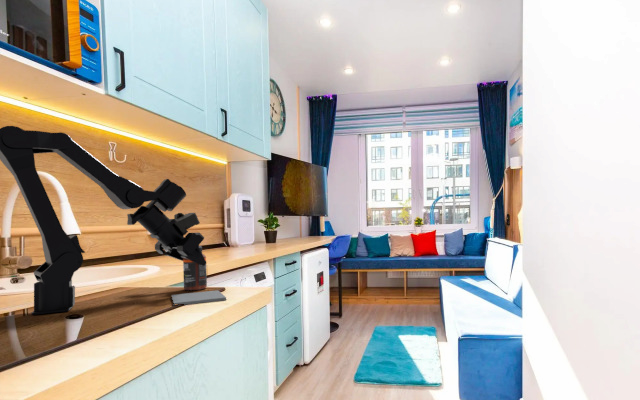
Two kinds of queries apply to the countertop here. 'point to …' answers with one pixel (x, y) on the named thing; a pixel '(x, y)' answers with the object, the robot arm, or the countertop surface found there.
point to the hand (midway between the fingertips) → (199, 263)
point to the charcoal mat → (198, 297)
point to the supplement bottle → (194, 274)
